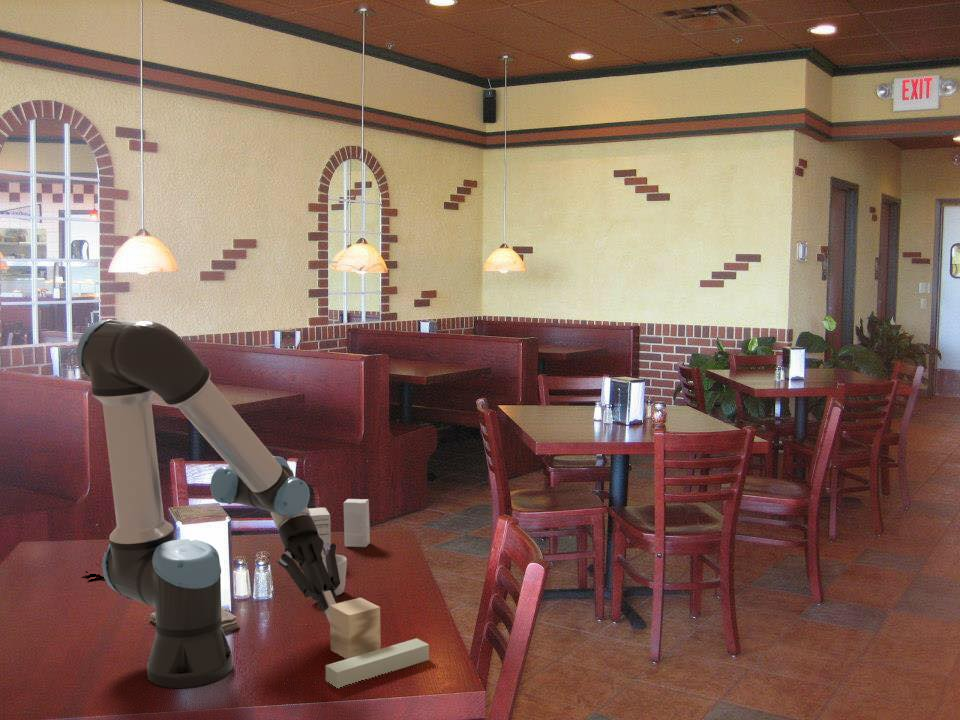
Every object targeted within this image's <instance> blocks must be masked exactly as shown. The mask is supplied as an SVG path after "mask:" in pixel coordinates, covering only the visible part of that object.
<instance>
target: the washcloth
mask: <svg viewBox="0 0 960 720" xmlns="http://www.w3.org/2000/svg"><path fill="white" fill-rule="evenodd" d="M221 618H222V629H223V631H224V634H225V633H228V632H231V631H234V630H236V629H238V628H239V627H240V626H241V625H240V624H239V623H238V621H237V620H236V618H237V615H234V614H233V613H231V612H230V611H229V610H228V608H226V607H221ZM150 620H151V621H153V622H154V623H153V622H152V623H153V624H155V623H156V620H155V612H152V613H150V614H149V618H148V621H150ZM151 621H150V622H151Z"/></svg>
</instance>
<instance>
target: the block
mask: <svg viewBox="0 0 960 720" xmlns="http://www.w3.org/2000/svg"><path fill="white" fill-rule="evenodd" d="M329 628H330V629H329V633H330V635H329V637H330V638H329V640H330V645H329V646H330V651H331V652H334V653H335V654H336V653H337V654H336V655H338V654H339V655H338V656H340V657H341V656H342V658H343V657H344V659H345V658H346V659H349V658H352V657H355V656H359V655H362V654H365V653H369V652H372V651H375V650H379V649H382V647H381V644H382V642H381V606H379V605H376V604H374V603H372V602H370V601H369V600H366V599H365V598H363V597H357V598H354V599H349V600H344V601H341V602H339V603H337V604H333V605H330V623H329Z"/></svg>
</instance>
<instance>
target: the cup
mask: <svg viewBox="0 0 960 720" xmlns="http://www.w3.org/2000/svg"><path fill="white" fill-rule="evenodd" d="M335 557H336V562H337V567H338V573H339V578H340V585H339V586H338V588H337V589H336V590H335V594H336V596H337V597H338V596H339V595H342V593H344V591H345V588H346V577H347V565H348V559H347V557H346V556H345V555H341V554H335ZM322 558H323V563H324V565H325V568H326V570H327V565H326V556H325V555H322ZM327 572H328V570H327ZM322 592H324V591H322Z"/></svg>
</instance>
